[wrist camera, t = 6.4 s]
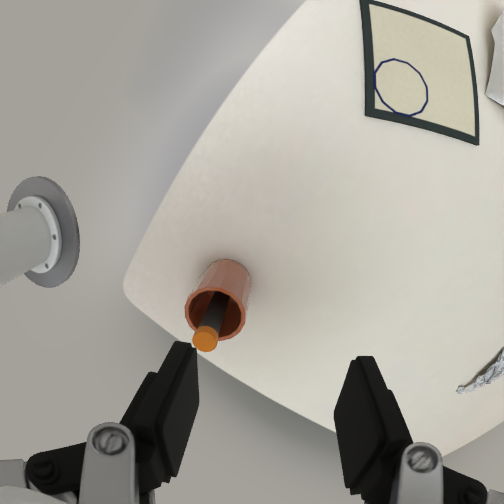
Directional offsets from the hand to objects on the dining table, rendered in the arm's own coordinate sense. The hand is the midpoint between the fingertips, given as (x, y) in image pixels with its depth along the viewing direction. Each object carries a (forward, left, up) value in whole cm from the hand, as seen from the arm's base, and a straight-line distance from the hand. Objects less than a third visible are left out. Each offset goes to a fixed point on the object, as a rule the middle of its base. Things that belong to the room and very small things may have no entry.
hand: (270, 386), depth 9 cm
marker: (-5, -6, -23) cm, 25 cm away
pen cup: (-5, -6, -24) cm, 25 cm away
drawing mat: (+18, +23, -24) cm, 38 cm away
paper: (+43, -22, -24) cm, 54 cm away
